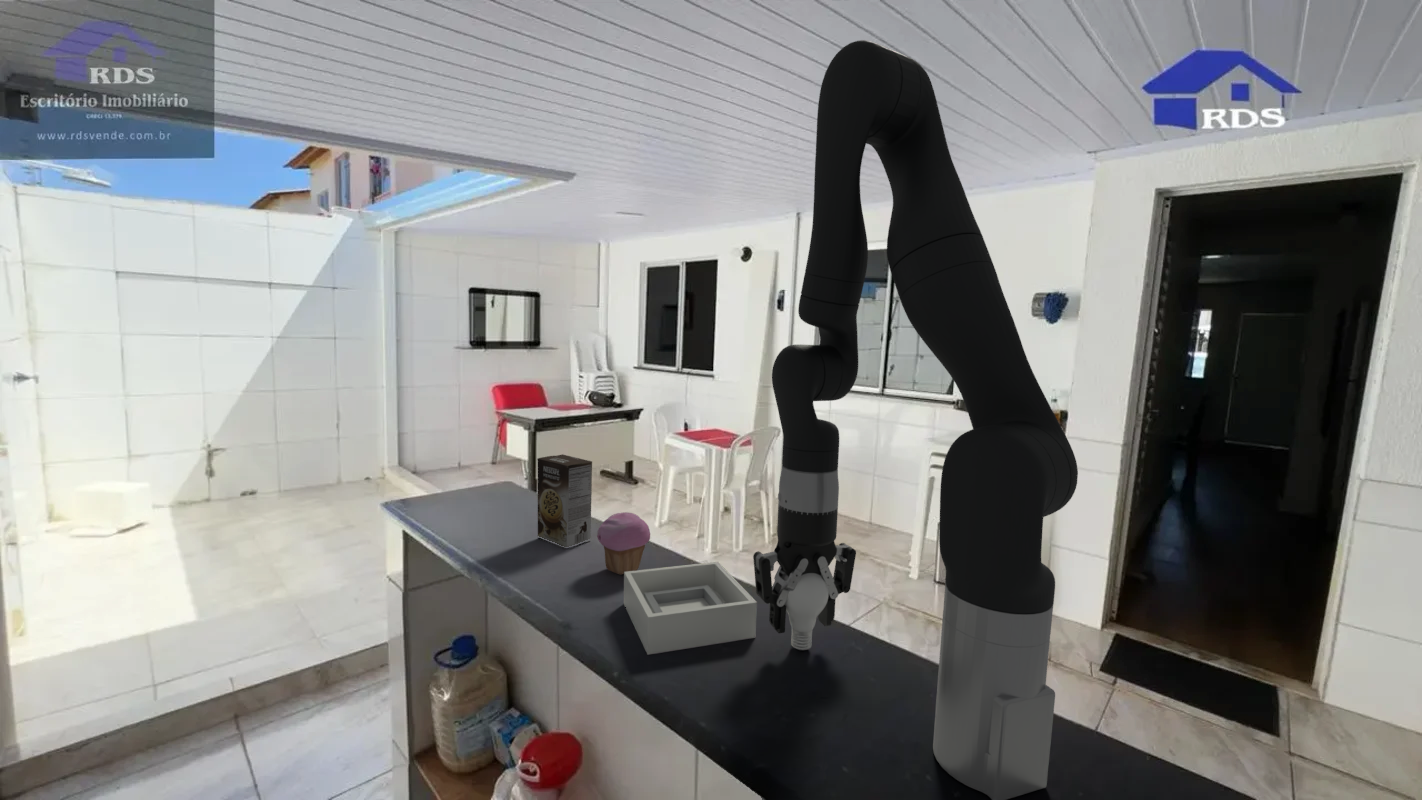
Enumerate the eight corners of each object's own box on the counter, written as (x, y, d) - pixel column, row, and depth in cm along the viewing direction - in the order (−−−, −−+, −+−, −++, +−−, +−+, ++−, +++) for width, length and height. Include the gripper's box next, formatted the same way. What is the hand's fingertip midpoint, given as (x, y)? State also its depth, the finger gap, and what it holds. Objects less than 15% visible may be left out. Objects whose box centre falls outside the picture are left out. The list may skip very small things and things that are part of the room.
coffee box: (535, 539, 116) (535, 457, 115) (562, 530, 122) (562, 453, 120) (566, 550, 111) (566, 465, 109) (592, 541, 116) (593, 459, 114)
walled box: (755, 637, 81) (756, 602, 80) (647, 654, 76) (648, 617, 75) (717, 591, 95) (717, 561, 94) (623, 603, 90) (624, 571, 89)
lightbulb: (825, 665, 74) (829, 580, 73) (774, 658, 76) (778, 575, 74) (825, 640, 81) (830, 561, 79) (778, 634, 82) (782, 557, 81)
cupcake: (633, 557, 108) (633, 503, 107) (658, 573, 101) (660, 516, 100) (588, 568, 103) (588, 511, 102) (612, 585, 96) (613, 525, 95)
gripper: (769, 514, 70) (764, 649, 72) (873, 506, 75) (865, 632, 77) (744, 497, 77) (740, 621, 79) (840, 490, 82) (834, 607, 84)
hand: (802, 626), depth 78 cm, fingers closed on lightbulb, 6 cm apart
